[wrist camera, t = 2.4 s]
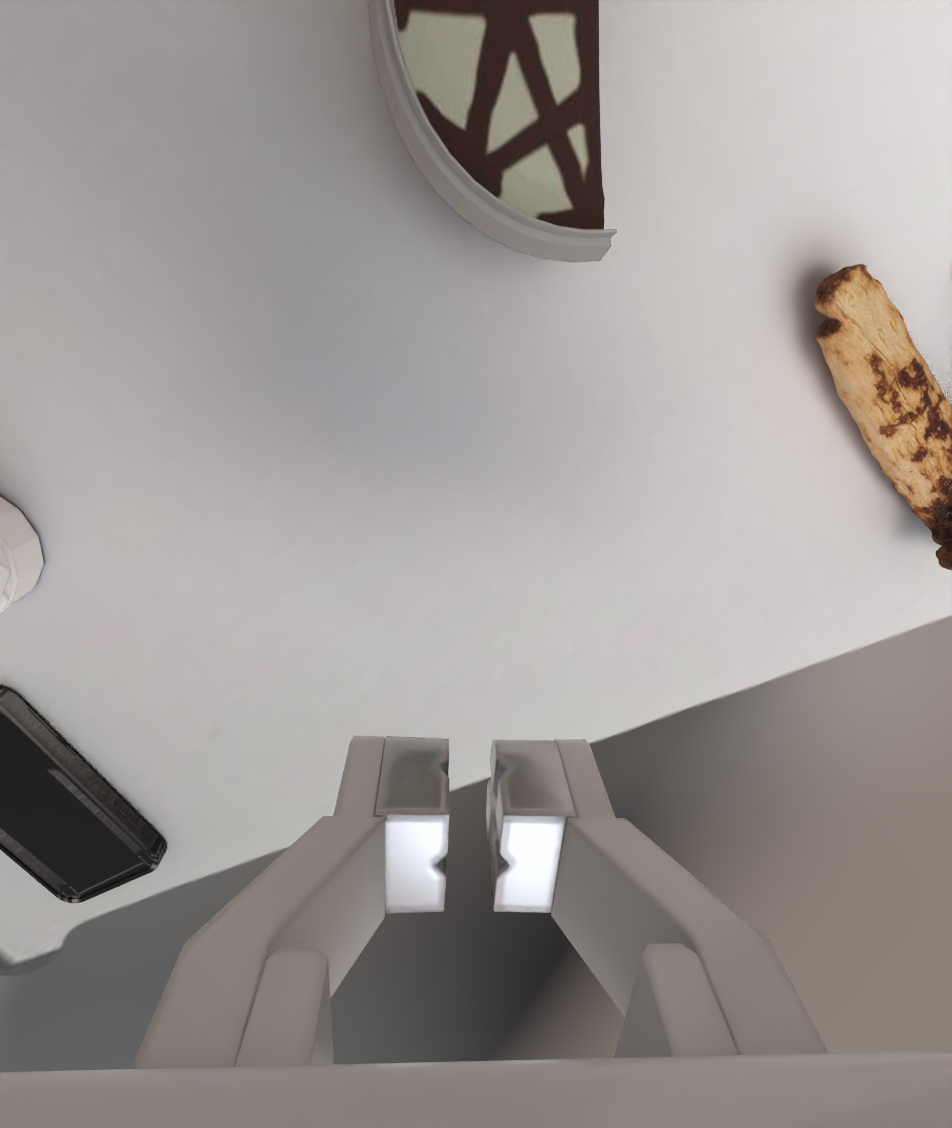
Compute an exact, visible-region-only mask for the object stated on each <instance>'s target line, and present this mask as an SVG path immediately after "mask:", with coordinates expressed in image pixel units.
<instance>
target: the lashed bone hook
mask: <svg viewBox="0 0 952 1128" xmlns="http://www.w3.org/2000/svg"><path fill="white" fill-rule="evenodd" d="M866 267H867V266H865V265H863V264H861V265H860V264H859V265H854V266H848V267H844V268H843V269H841V270H840V271H838V272H836V273H834V274H831V275H829V276H827V277H825V278H824V279H823V280H822V281H821V282H820V284H819V286H818V288H817V291H816V295H815V308H816V310H817V311H819V312H820V313H822V314H824V315H826V316H828V318H827V319H826V320H825V321H824V322H823V323H822V325H821V326H820V327H819V328H818V333H817V336H816V339H817V341H818V342H819V344H820V346H821V349H822V351H823V355H824V358H825V361H826V363H827V364H828V366H829V368H830V370H831V373H832V377H833V380H834V383H835V387H836V392H837V395H838V396H839V398H840V399H841V401H842V402H843V403H844V405H845V406H846V407H847V408H848V410H849V412H850V414H851V416H852V418H853V419H854V420H855V422H856V423H857V425H858V427H859V429H860V431H861V434H862V437H863V439H864V441H865V442H866V444H867V446H868V448H869V451H870V453H871V455H872V456H874V457H875V458H876V459H877V460H878V463H879V466H880V468H881V470H882V471H883V472H884V474H885V475H886V476H887V477H888V478H890V479H891V481H892V485H893V487H894V488H895V489H896V491H897V492H899V493H900V494H901V495H902V496H903V497H904V498H905V500H906V501H907V502H908V503H909V504H910V506H911V509H912V512H913V513H914V514H916V515H917V516H918V517H919V518H921V519H922V520H923V522H924V523H925V525H926V526H927V527H928V528H929V529H930V530H931V531H932V539H933V540H934V542H936V543H937V544H940V545H942V546H941V548H939V549H938V550H937V551H936V557H937V558H938V559H939V564H940V566H942V567H943V568H946V569H949V570H952V407H951V405H950V403H949V401H948V400H947V399H946V397H945V396H944V394H943V392H942V390H941V388H940V386H939V384H938V383H937V381H936V379H935V378H934V376H933V374H932V372H931V371H930V369H929V367H928V365H927V363H926V362H925V360H924V359H923V357H922V356H921V355H920V353H919V352H918V350H917V349H916V347H915V346H914V344H913V342H912V340H911V338H910V336H909V333H908V331H907V328H906V325H905V323H904V320H903V317H902V316H901V314H900V312H899V311H898V309H897V308H896V307H895V306H894V305H893V303H891V302H890V299H888V297H887V295H886V292H885V290H884V288H883V286H882V284H881V283H880V282H879V281H878V280H875V279H874V278H873V277H872V276H871V275H870V274H869V273H868V271H867V269H866Z"/></svg>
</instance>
